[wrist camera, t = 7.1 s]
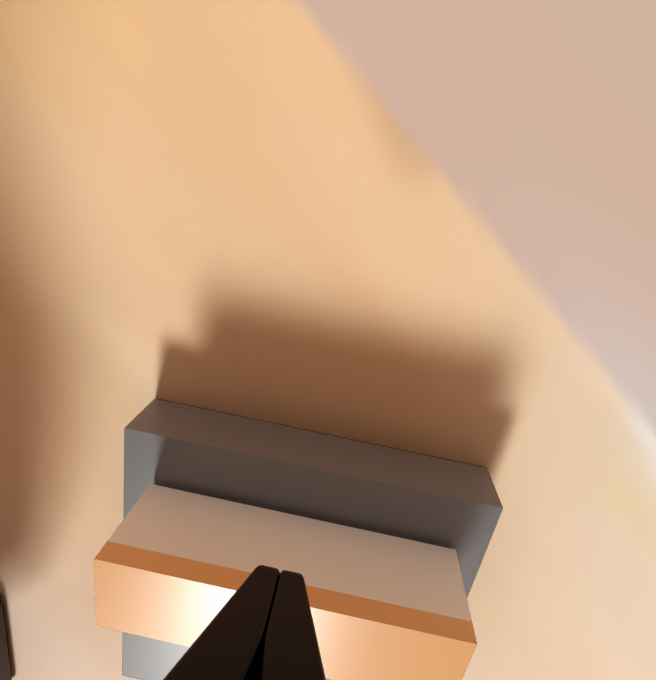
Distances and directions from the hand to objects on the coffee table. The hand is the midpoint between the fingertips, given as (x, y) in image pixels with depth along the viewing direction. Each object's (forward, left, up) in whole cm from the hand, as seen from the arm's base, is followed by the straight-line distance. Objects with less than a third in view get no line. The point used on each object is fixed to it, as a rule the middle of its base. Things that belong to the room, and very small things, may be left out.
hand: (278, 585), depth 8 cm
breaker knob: (-4, 0, -5) cm, 7 cm away
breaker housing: (-7, 0, -7) cm, 10 cm away
